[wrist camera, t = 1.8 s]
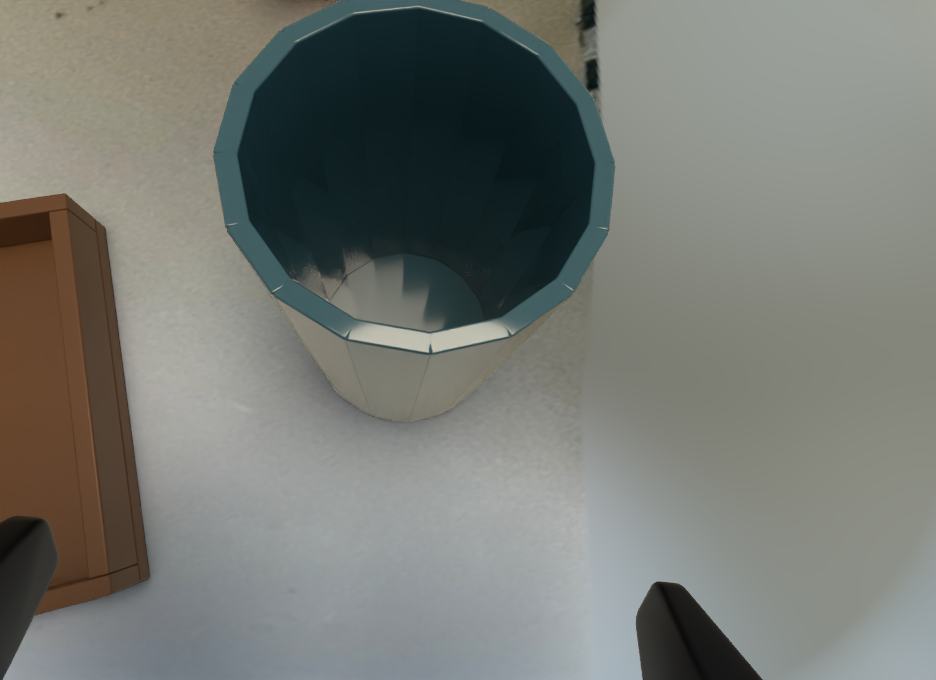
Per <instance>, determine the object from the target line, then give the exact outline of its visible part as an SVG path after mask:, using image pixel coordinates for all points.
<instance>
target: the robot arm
mask: <svg viewBox="0 0 936 680" xmlns="http://www.w3.org/2000/svg"><path fill="white" fill-rule="evenodd" d="M58 558H59V556H58V551H57V547H56V544H55V541H54V538H53V534H52V531H51V528H50V525H49V523H48V521H47V520H45V519H44V518H39V517H30V516H13V517H10V518H7V519H6V520H4V521H2V522H0V680H2V679H3V678H4V676H5V674H6V672H7V670H8V668H9V666H10V664H11V662H12V660H13V658H14V656H15V654H16V652H17V650H18V648H19V646H20V644H21V641H22V639H23V637H24V635H25V633H26V631H27V629H28V627H29V625H30V623H31V621H32V619H33V617H34V615H35V613H36V611H37V609H38V607H39V604H40V602H41V600H42V598H43V596H44V594H45V592H46V590H47V588H48V586H49V584H50V582H51V580H52V578H53V576H54V574H55V571H56V569H57V565H58ZM636 630H637V638H638V646H639V654H640V661H641V670H642V677H643V680H762V679H761V677H760V676H759V675H758V674H757V673H756V671H755V670H754V669H753V668H752V667H751V665H750V664H749V663H748V662H747V661H746V660H745V658H744V657H743V656H742V655H741V654H740V653H739V651H738V650H737V649H736V648H735V647H734V645H732V643H731V642H730V641H729V639H728V638H727V637H726V636H725V635H724V634H723V633H722V631H721V630H720V629H719V628H718V626H716V624H715V623H714V622H713V621H712V620H711V618H710V617H709V616H708V615H707V614H706V612H705V611H704V610H703V609H702V608H701V606H700V605H699V604H698V603H697V602H696V601H695V599H694V598H693V597H692V596H691V595H690V593H689V592H688V591H687V590H686V589H685V588H684V587H683V586H681V585H680V584H677V583H669V582H655V583H654V584H653V585H652V586H651V588H650V590H649V591H648V593H647V595H646V597H645V599H644V601H643V603H642V604H641V606H640V608H639V610H638V612H637V616H636Z"/></svg>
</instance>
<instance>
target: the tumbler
mask: <svg viewBox="0 0 936 680" xmlns="http://www.w3.org/2000/svg"><path fill="white" fill-rule="evenodd" d="M213 152H214V154H213V159H214V165H215V170H216V176H217V182H218V188H219V193H220V199H221V205H222V211H223V216H224V222H225V227H226V228H227V232H228V233H229V235H230V236H231V238H232V239H233V241H234V242H235V243H236V245H237V246H238V248H239V249H240V251H241V252H242V254H243V255H244V257H245V258H246V260H247V261H248V263H249V264H250V266H251V267H252V269H253V270H254V272H255V273H256V274H257V276H258V277H259V279H260V280H261V282H262V283H263V285H264V286H265V288H266V289H267V291H268V292H269V294H270V295H271V297H272V298H273V300H274V301H275V303H276V304H277V305H278V307H279V308H280V310H281V311H282V313H283V314H284V316H285V317H286V319H287V320H288V322H289V323H290V325H291V326H292V328H293V329H294V331H295V332H296V334H297V335H298V337H299V338H300V339H301V341H302V342H303V344H304V345H305V347H306V348H307V350H308V351H309V353H310V354H311V356H312V357H313V359H314V360H315V362H316V363H317V365H318V366H319V368H320V369H321V370H322V372H323V373H324V375H325V376H326V378H327V379H328V380H329V382H330V383H331V385H332V386H333V388H334V389H335V390H336V392H337V393H338V395H339V396H340V397H342V398H343V399H345V400H346V401H347V402H349V403H350V404H352V405H353V406H354V407H356V408H357V409H359V410H361V411H363V412H365V413H367V414H369V415H372V416H374V417H377V418H381V419H386V420H390V421H400V422H408V421H409V422H411V421H418V420H424V419H428V418H432V417H435V416H438V415H441V414H444V413H446V412H448V411H449V410H450V409H452V408H453V407H455V406H456V405H458V404H459V403H460V402H462V401H463V400H464V399H465V398H467V397H468V396H470V395H471V394H472V393H474V392H475V391H476V390H477V389H478V388H479V387H480V386H481V385H482V384H483V383H484V382H485V381H486V380H487V379H488V378H489V377H490V376H491V375H492V374H493V373H494V372H495V371H496V370H497V369H498V368H499V367H500V366H501V365H502V364H503V363H504V362H505V361H506V360H507V359H508V358H509V357H510V356H511V355H512V354H513V353H514V352H515V351H516V350H517V349H518V348H519V347H520V346H521V345H522V344H523V343H524V342H525V341H526V340H527V339H528V338H529V337H530V336H531V335H532V334H533V333H534V332H535V331H536V330H537V329H538V328H539V327H540V326H541V325H542V324H543V323H544V322H545V321H546V320H547V319H548V318H549V317H550V316H551V315H552V314H553V313H554V312H555V311H556V310H557V309H558V308H559V307H560V306H561V305H562V304H563V303H564V302H565V301H566V300H567V299H568V298H569V297H570V296H571V295H572V294H573V293H574V292H575V290H576V289H577V287H578V285H579V283H580V282H581V280H582V278H583V276H584V275H585V273H586V271H587V270H588V268H589V266H590V264H591V263H592V261H593V259H594V257H595V256H596V254H597V252H598V250H599V249H600V247H601V245H602V243H603V242H604V240H605V238H606V236H607V235H608V231H609V226H610V216H611V205H612V194H613V184H614V173H615V164H614V162H615V161H614V158H613V155H612V152H611V149H610V146H609V143H608V140H607V137H606V133H605V131H604V127H603V124H602V121H601V118H600V115H599V112H598V109H597V106H596V103H595V100H594V99H593V96H592V95H591V94H590V93H589V92H588V90H587V89H586V88H585V87H584V85H583V84H582V83H581V82H580V81H579V79H578V78H577V77H576V76H575V74H574V73H573V72H572V71H571V70H570V68H569V67H568V66H567V65H566V63H565V62H564V61H563V60H562V58H561V57H560V56H559V55H558V54H557V52H556V51H555V50H554V49H553V47H552V46H549V44H548V43H547V42H545V41H544V40H542V39H540V38H539V37H537V36H535V35H534V34H532V33H530V32H529V31H527V30H526V29H524V28H522V27H521V26H519V25H517V24H516V23H514V22H512V21H511V20H509V19H508V18H506V17H504V16H503V15H501V14H499V13H498V12H496V11H494V10H493V9H491V8H489V9H488V7H486V6H482V5H478V4H474V3H469V2H465V1H461V0H340V1H338V2H336V3H334V4H332V5H330V6H328V7H326V8H324V9H322V10H320V11H318V12H315V13H313V14H311V15H309V16H307V17H305V18H303V19H301V20H299V21H297V22H295V23H293V24H291V25H289V26H287V27H285V28H283V29H282V31H279V32H278V33H277V34H276V35H275V36H274V38H273V39H272V40H271V41H270V42H269V43H268V44H267V45H266V47H265V48H264V49H263V50H262V51H261V52H260V53H259V55H258V56H257V57H256V58H255V59H254V60H253V61H252V62H251V64H250V65H249V66H248V67H247V68H246V69H245V70H244V72H243V73H242V74H241V75H240V76H239V77H238V78H237V79H236V81H235V82H234V84H233V86H232V89H231V92H230V96H229V99H228V103H227V106H226V110H225V113H224V116H223V120H222V123H221V127H220V130H219V134H218V137H217V140H216V144H215V147H214V151H213Z"/></svg>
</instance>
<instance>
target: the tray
mask: <svg viewBox="0 0 936 680" xmlns="http://www.w3.org/2000/svg"><path fill="white" fill-rule="evenodd" d="M13 516H30V517H39V518H44V519H45V520H47V521H48V523H49V525H50V528H51V531H52V534H53V538H54V541H55V544H56V547H57V551H58V556H59V558H58V565H57V569H56V571H55V574H54V576H53V578H52V580H51V582H50V584H49V586H48V588H47V590H46V592H45V594H44V596H43V598H42V600H41V602H40V604H39V607H38V609H37V611H36V613H35V615H38V614H42V613H46V612H50V611H53V610H57V609H61V608H65V607H68V606H72V605H76V604H80V603H83V602H87V601H91V600H94V599H98V598H102V597H106V596H109V595H112V594H114V593H117V592H119V591H121V590H124V589H126V588H128V587H131V586H133V585H135V584H138V583H140V582H142V581H144V580H147V579H148V578H149V569H148V561H147V553H146V545H145V537H144V530H143V522H142V514H141V506H140V499H139V491H138V483H137V475H136V468H135V460H134V452H133V444H132V436H131V429H130V421H129V413H128V405H127V398H126V390H125V382H124V374H123V366H122V359H121V351H120V343H119V335H118V328H117V320H116V312H115V304H114V296H113V289H112V281H111V273H110V265H109V258H108V250H107V242H106V234H105V228H104V226H102V225H101V224H100V223H99V222H98V221H97V220H95V219H94V218H93V217H92V216H91V215H90V214H89V213H87V212H86V211H85V210H84V209H83V208H82V207H80V206H79V205H78V204H77V203H76V202H75V201H73V200H72V199H71V198H70V197H69V196H68V195H66V194H57V195H50V196H44V197H37V198H30V199H23V200H16V201H10V202H3V203H0V522H2V521H4V520H6V519H7V518H10V517H13ZM35 615H34V616H35Z"/></svg>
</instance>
